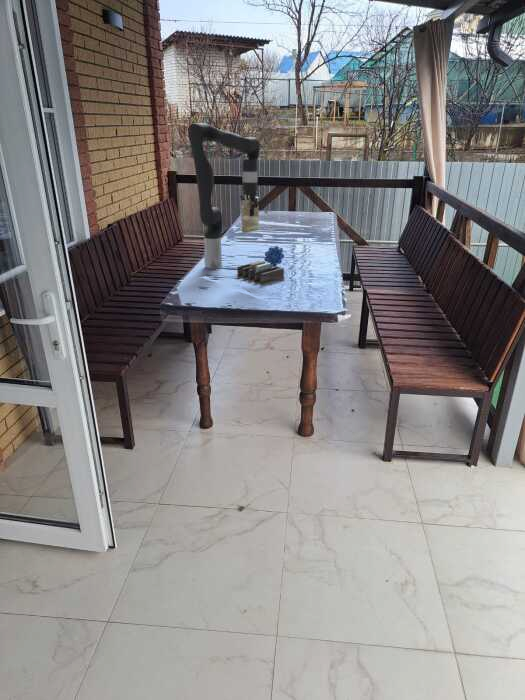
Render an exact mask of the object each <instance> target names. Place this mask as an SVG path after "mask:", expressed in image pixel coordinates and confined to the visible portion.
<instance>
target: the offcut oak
mask: <svg viewBox="0 0 525 700" xmlns="http://www.w3.org/2000/svg"><path fill="white" fill-rule="evenodd" d="M255 262H256V263H254V262H251V263H252V264H250V263H249V264H250V270H252V269H256V266H257V265H261V264H265V263H266V262H265V260H260V262H258V261H255Z"/></svg>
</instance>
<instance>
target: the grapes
mask: <svg viewBox="0 0 525 700" xmlns="http://www.w3.org/2000/svg"><path fill="white" fill-rule="evenodd" d="M283 252H284V250H283V248H279V246H278V245H275V246H270V247H269V248H268V250H266V252H264V256H265V257H264V260H263V261H264V262H265V263H271V265H272V266H273V267H276V266H278V265H281V264H282V261H283V259H284V258H285V254H284V253H283Z"/></svg>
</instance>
